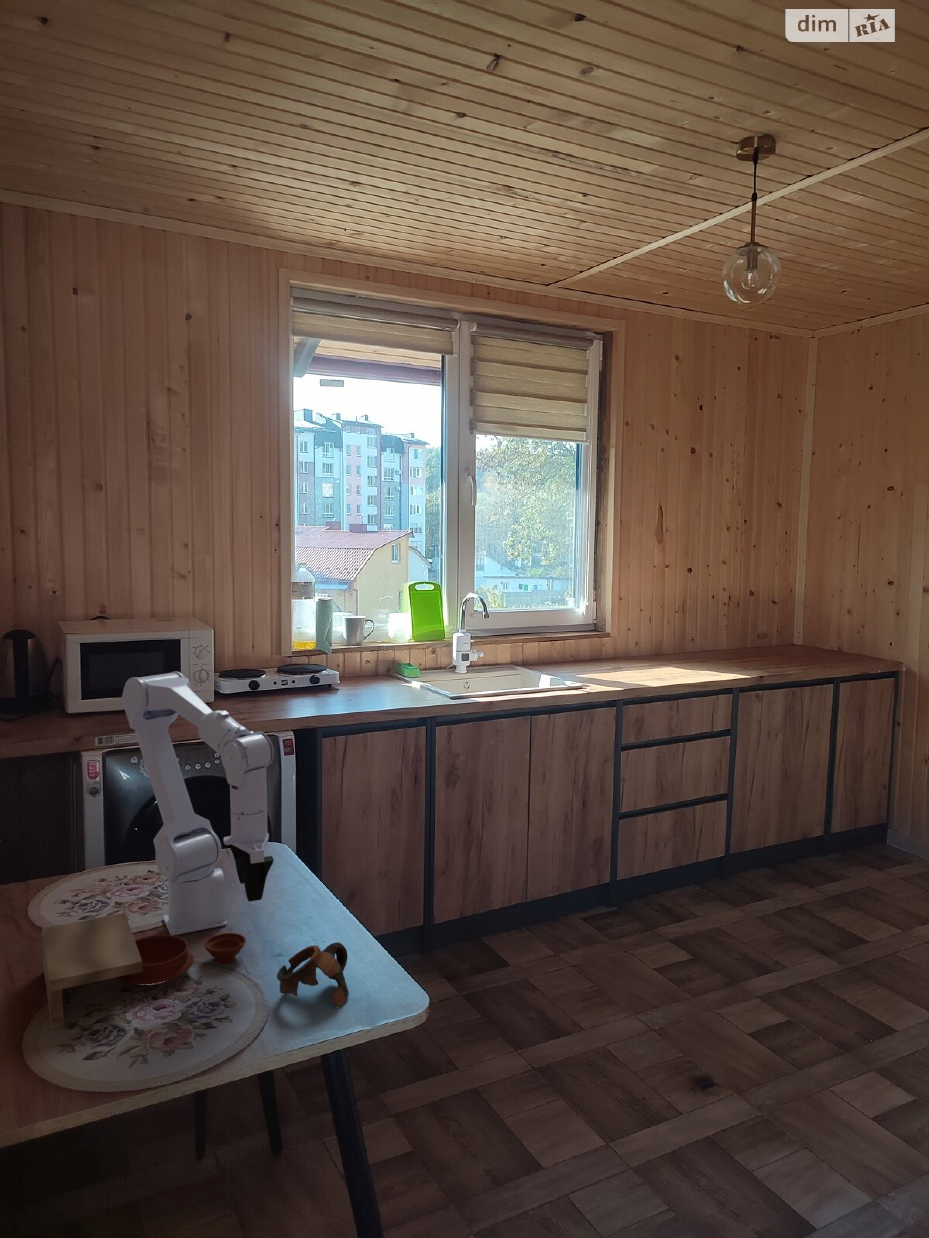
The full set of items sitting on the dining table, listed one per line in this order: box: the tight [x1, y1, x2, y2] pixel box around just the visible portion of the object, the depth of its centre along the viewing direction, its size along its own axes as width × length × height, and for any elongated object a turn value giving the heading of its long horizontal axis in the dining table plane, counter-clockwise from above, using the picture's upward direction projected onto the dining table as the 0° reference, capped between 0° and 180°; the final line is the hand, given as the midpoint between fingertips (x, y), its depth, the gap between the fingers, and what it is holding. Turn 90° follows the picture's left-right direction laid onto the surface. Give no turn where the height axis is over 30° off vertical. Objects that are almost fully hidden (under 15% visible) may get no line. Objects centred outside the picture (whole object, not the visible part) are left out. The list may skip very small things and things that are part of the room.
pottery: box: [115, 932, 247, 985], centre depth 138 cm, size 12×20×4 cm, turn 120°
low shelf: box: [41, 912, 143, 1030], centre depth 132 cm, size 12×18×7 cm, turn 28°
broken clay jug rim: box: [276, 941, 350, 1008], centre depth 132 cm, size 12×10×8 cm
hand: (250, 890), depth 144 cm, fingers open, 7 cm apart
